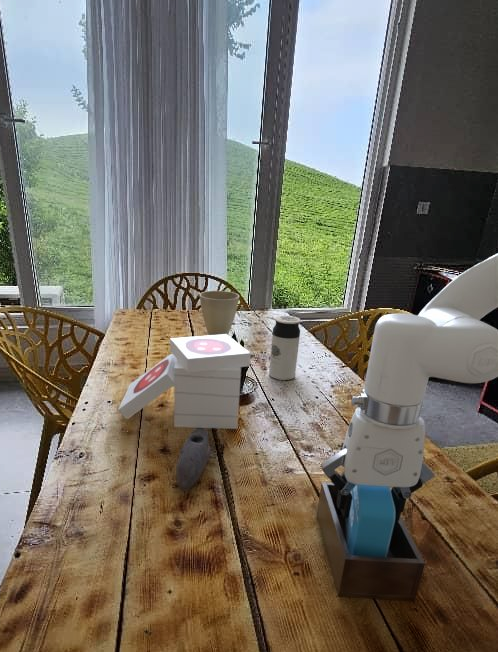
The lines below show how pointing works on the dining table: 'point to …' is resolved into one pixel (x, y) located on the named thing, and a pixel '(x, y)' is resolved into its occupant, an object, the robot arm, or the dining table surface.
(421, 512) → the dining table surface
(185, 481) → the perforated stone tool
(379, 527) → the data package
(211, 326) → the plant pot
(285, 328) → the travel mug
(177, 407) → the pizza boxes
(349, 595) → the box
